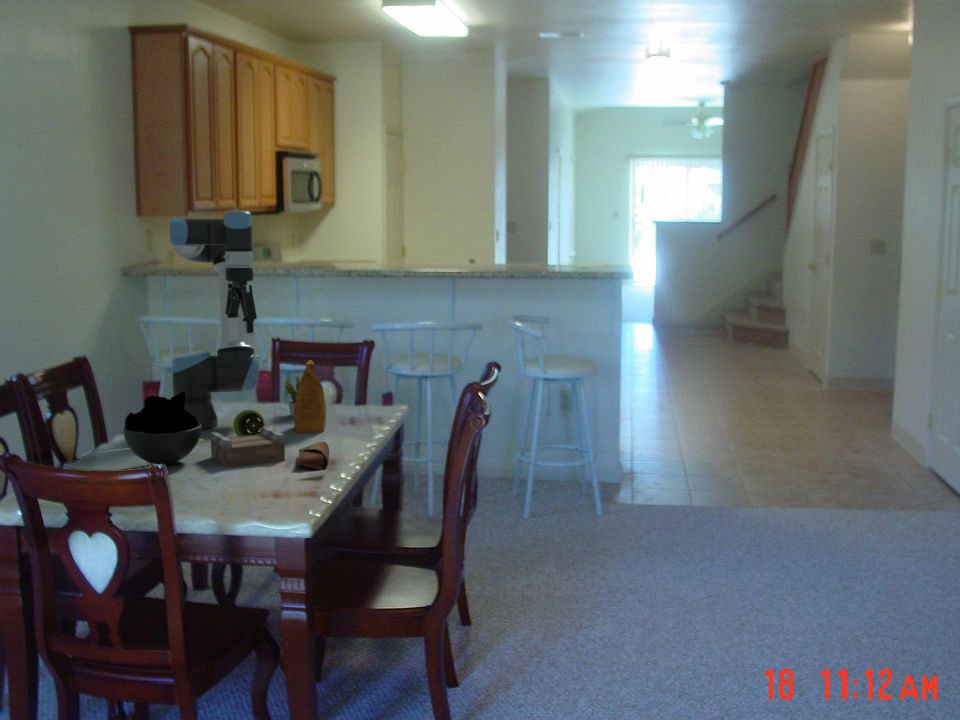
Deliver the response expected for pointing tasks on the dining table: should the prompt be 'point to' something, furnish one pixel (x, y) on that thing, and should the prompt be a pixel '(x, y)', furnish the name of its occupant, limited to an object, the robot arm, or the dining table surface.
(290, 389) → the house plant
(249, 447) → the raised riser
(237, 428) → the plant pot
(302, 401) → the brown tall tapered bottle
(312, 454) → the sunglasses case
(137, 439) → the coal bowl
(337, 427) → the dining table surface
